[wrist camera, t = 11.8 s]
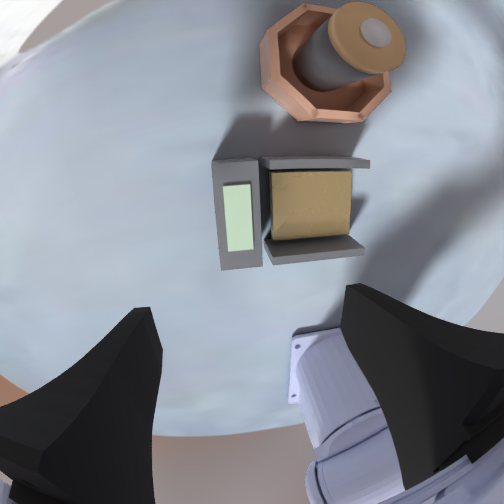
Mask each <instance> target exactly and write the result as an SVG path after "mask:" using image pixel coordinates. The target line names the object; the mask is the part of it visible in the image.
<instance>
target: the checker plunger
mask: <svg viewBox="0 0 504 504" xmlns="http://www.w3.org/2000/svg"><path fill="white" fill-rule="evenodd" d="M269 181H270V210H271V237H272V238H273V240H274V241H275V240H286V239H297V238H308V237H320V236H331V235H343V234H349V228H350V211H351V185H352V172H351V171H348V170H302V171H274V172H269Z"/></svg>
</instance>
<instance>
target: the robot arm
mask: <svg viewBox="0 0 504 504" xmlns="http://www.w3.org/2000/svg"><path fill="white" fill-rule="evenodd" d="M297 344H299V345H298V346H296V345H297ZM162 355H163V349H162V346H161V342H160V339H159V336H158V333H157V329H156V326H155V323H154V319H153V316H152V312H151V309H150V307H140V308H134V309H133V310H131V311H130V312H129V313H128V314H127V315H126V316H125V317H124V318H123V319H122V320H121V321H120V322H119V323H118V324H117V325H116V326H115V327H114V328H113V329H112V330H111V331H110V332H109V333H108V334H107V335H106V336H105V337H104V338H103V339H102V340H101V341H100V342H99V343H98V344H97V345H96V346H95V347H93V348H92V349H91V350H90V351H89V352H88V353H87V354H86V355H85V356H84V357H83V358H81V359H80V360H79V361H78V362H77V363H75V364H74V365H73V366H72V367H70V368H69V369H68V370H66V371H65V372H64V373H62V374H61V375H59V376H58V377H56V378H55V379H53V380H52V381H50V382H49V383H47V384H46V385H44V386H42V387H41V388H39V389H38V390H36V391H34V392H32V393H30V394H28V395H27V396H24V397H23V398H20V399H18V400H16V401H14V402H12V403H10V404H7V405H4V406H1V407H0V471H1V472H3V473H4V474H5V475H7V476H8V477H9V478H11V479H12V480H13V482H12V486H10V485H8V484H7V483H5V482H3V481H2V480H0V504H155V499H154V488H153V477H152V427H153V419H154V413H155V407H156V401H157V396H158V390H159V384H160V379H161V373H162ZM288 402H289V403H290V404H294V403H299V406H300V409H301V412H302V415H303V418H304V421H305V425H306V427H307V431H308V433H309V437H310V440H311V443H312V445H313V447H314V448H315V449H314V454H315V457H316V460H315V461H313V462H311V463H310V464H309V467H308V471H307V473H306V477H305V485H306V491H307V495H308V498H309V500H310V503H311V504H504V334H503V333H495V332H487V331H482V330H476V329H472V328H468V327H464V326H460V325H457V324H453V323H450V322H447V321H444V320H441V319H438V318H436V317H433V316H431V315H428V314H426V313H424V312H421V311H419V310H417V309H414V308H412V307H410V306H408V305H406V304H404V303H402V302H400V301H398V300H396V299H394V298H392V297H389V296H387V295H385V294H383V293H381V292H379V291H377V290H375V289H373V288H371V287H369V286H366V285H364V284H361V283H359V284H352V285H346V291H345V299H344V306H343V313H342V320H341V326H340V328H335V329H330V330H324V331H319V332H313V333H307V334H301V335H296V336H294V337H293V338H292V340H291V356H290V374H289V390H288Z"/></svg>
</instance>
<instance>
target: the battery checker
mask: <svg viewBox="0 0 504 504" xmlns="http://www.w3.org/2000/svg"><path fill="white" fill-rule="evenodd" d="M260 158H261V165H262V166H264V167H266V168H268V169H295V168H367V169H370V160H366V159H361V158H355V157H349V156H274V157H260ZM211 165H212V178H213V190H214V202H215V213H216V224H217V235H218V245H219V255H220V264H221V270H231V269H241V268H251V267H261V266H263V262H262V236H261V212H260V189H259V167H258V160H255V159H253V158H236V159H223V160H212V164H211ZM264 247H265V249H266V252H267V254H268V256H269V258H270V260H271V262H272V264H273V265H280V264H289V263H299V262H308V261H317V260H326V259H335V258H343V257H352V256H360V255H364V250H365V248H364V247H363V246H362V245H361V244H359V243H358V242H357V241H356V240H354V239H353V238H352V237H350V236H349V235H348V234H343V235H331V236H320V237H308V238H297V239H286V240H275V241H274V240H273V239H265V240H264Z"/></svg>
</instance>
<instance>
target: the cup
mask: <svg viewBox="0 0 504 504" xmlns="http://www.w3.org/2000/svg"><path fill="white" fill-rule="evenodd" d="M337 10H338V9H336V8H331V7H325V6H319V5H313V4H306V3H302V4H301V5H300V6H299V7H297V8H296V9H294V10H293V11H292V12H290V13H289V14H287V15H286V16H285V17H283V18H282V19H281V20H279V21H278V22H277V23H275V24H274V25H273V26H272V27H270V28H269V29H267V31H266V33H265V35H264V37H263V39H262V41H261V43H260V45H259V51H260V67H261V84H262V87H261V88H262V90H264V91H265V92H266V93H267V94H269V95H270V96H271V97H272V98H273V99H274V100H275V101H276V102H277V103H279V104H280V105H281V106H282V107H283V108H284V109H285V110H286V111H287V112H288V113H289V114H290V115H292V116H293V117H294V118H295V119H296V121H298V122H299V121H314V122H334V123H340V124H341V123H354V122H363V121H364V120H365V119H366V117H367V116H368V115H369V114H370V113H371V112H372V111H373V110H374V109H375V108H376V107H377V106H378V105H379V104H380V103H381V102H382V101H383V99H384V98H385V97H386V96H387V95H388V94H389V93H391V85H390V74H389V71H387V72H383V73H380V74H377V75H374V76H371V77H368V78H365V79H362V80H359V81H356V82H353V83H350V84H348V85H345V86H342V87H340V88H337V89H334V90H332V91H328V92H319V91H315V90H312V89H310V88H308V87H306V86H305V85H303V84H302V83H301V82H300V81H299V80H298V78H297V77H296V75H295V73H294V71H293V67H292V58H293V55H294V53H295V51H296V50H297V49H298V48H299V47H300V46H301V45H302V44H303V43H304V42H305V41H306V40H307V39H308V38H309V37H310V36H311V35H312V34H313V33H314V32H315V31H316V30H317V29H318V28H319V27H320V26H321V25H322V24H323V23H324V22H325V21H326V20H327V19H328V18H329V17H331V16H332V15H333V14H334V13H335V12H336V11H337Z"/></svg>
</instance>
